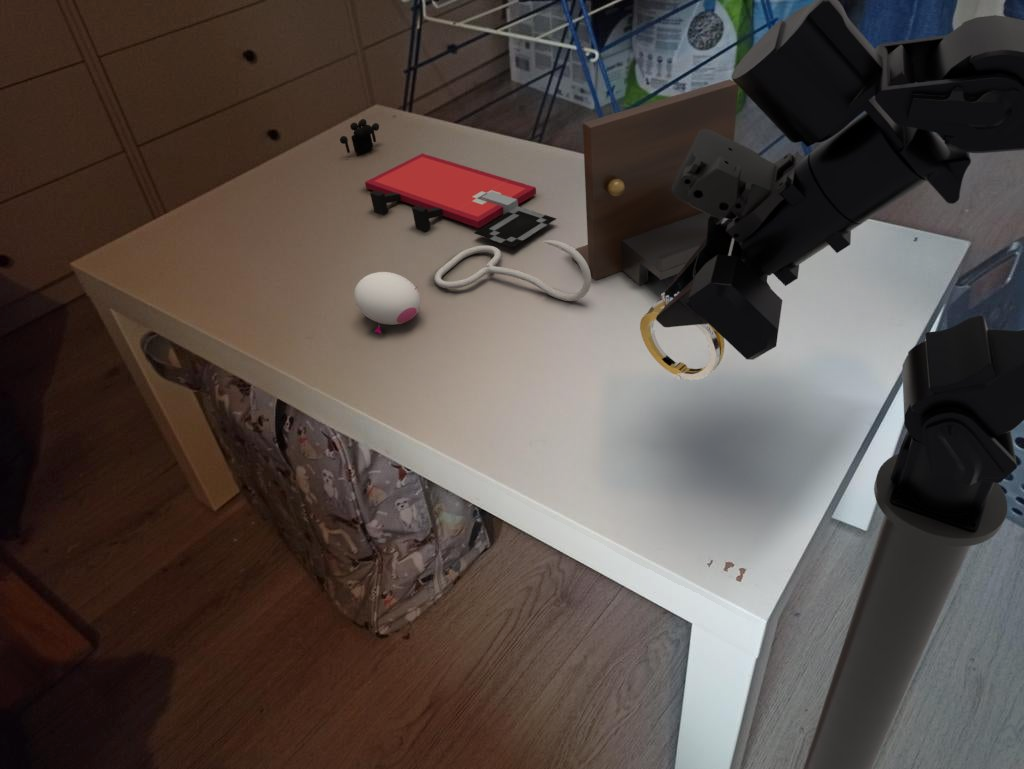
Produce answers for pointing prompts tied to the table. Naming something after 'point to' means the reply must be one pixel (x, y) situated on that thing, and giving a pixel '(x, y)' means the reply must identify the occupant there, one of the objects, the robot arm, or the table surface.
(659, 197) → the door rack
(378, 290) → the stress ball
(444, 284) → the white cord
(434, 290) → the table surface
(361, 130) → the wireless earbuds
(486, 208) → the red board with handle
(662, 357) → the ring
